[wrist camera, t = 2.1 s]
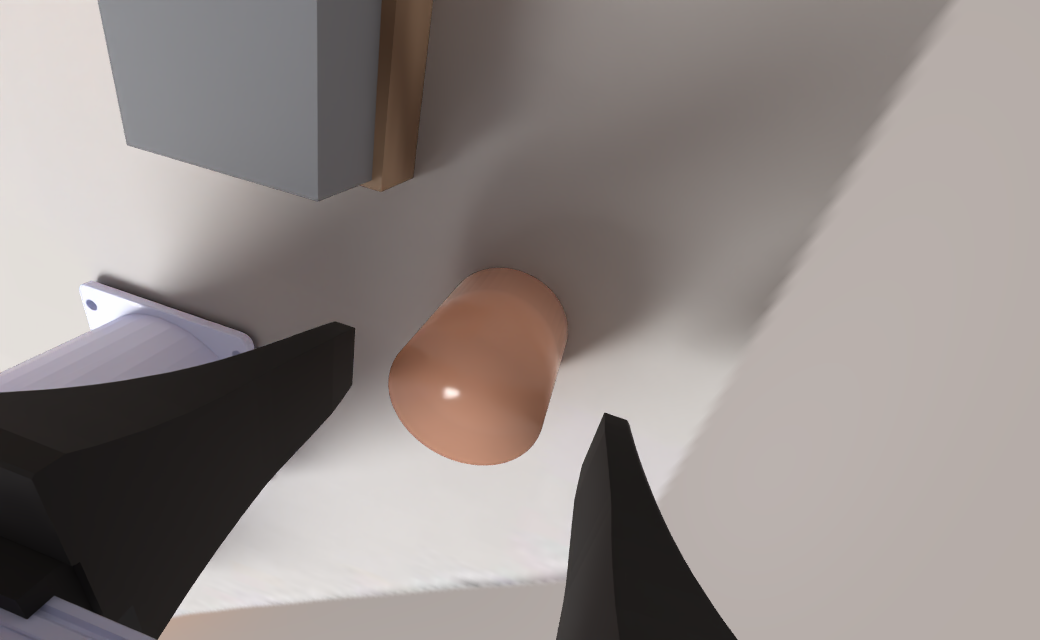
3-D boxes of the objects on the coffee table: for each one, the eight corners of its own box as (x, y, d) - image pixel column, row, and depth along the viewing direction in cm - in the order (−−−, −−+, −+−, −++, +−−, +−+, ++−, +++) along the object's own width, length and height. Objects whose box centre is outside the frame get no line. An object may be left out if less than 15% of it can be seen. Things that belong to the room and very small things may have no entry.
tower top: (372, 180, 13) (317, 201, 11) (210, 133, 13) (126, 144, 11) (384, -43, 10) (316, -74, 8) (184, -91, 11) (70, -133, 9)
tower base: (418, 175, 15) (380, 191, 13) (252, 124, 16) (189, 132, 13) (445, -54, 12) (403, -82, 10) (240, -107, 13) (156, -145, 10)
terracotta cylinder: (549, 393, 17) (522, 485, 14) (439, 356, 18) (382, 435, 14) (583, 290, 15) (563, 364, 11) (457, 251, 16) (395, 310, 12)
